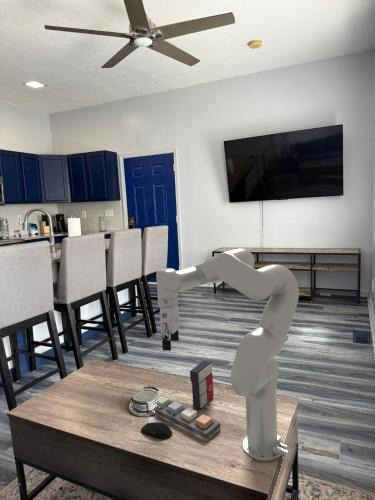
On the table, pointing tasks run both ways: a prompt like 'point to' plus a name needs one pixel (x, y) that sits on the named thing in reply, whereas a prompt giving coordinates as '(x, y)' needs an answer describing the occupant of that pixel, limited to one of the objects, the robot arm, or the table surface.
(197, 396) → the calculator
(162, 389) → the table surface
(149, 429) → the gaming mouse
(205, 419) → the key terracotta
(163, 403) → the key sage
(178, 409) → the key slate
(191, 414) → the key ivory
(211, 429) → the keypad
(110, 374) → the table surface
